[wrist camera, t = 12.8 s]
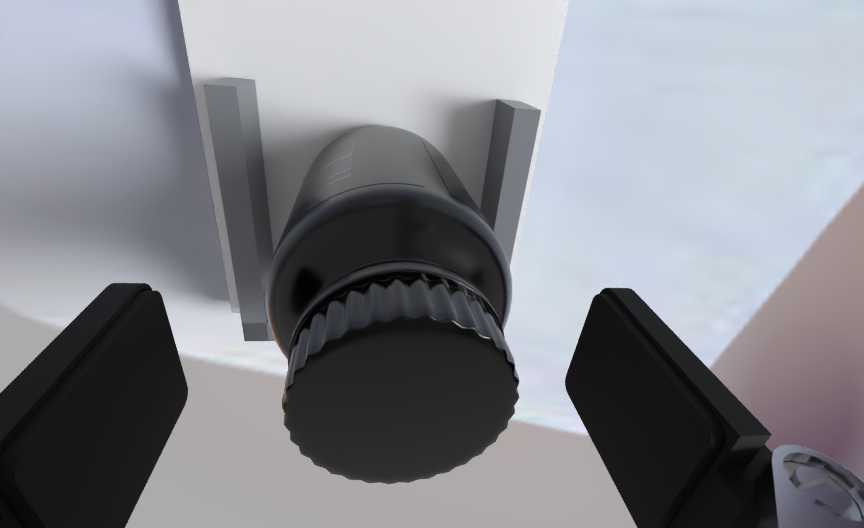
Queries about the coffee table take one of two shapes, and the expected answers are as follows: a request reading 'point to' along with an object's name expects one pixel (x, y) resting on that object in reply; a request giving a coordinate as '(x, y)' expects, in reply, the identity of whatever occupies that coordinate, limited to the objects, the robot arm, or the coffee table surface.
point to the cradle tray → (362, 105)
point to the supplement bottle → (390, 313)
